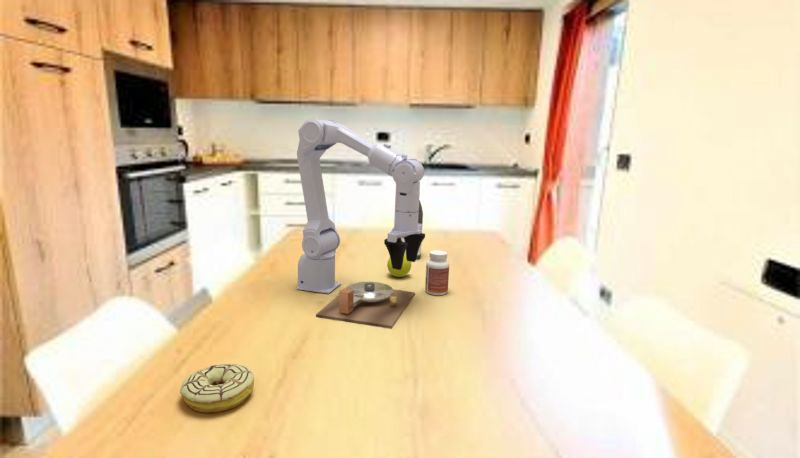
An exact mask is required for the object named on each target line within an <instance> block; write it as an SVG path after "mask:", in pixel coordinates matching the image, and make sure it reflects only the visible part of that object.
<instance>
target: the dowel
mask: <svg viewBox="0 0 800 458" xmlns="http://www.w3.org/2000/svg"><path fill="white" fill-rule="evenodd" d="M396 303H397V296H395V295H391V296H390V307H391V308H396Z"/></svg>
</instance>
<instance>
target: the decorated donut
mask: <svg viewBox="0 0 800 458" xmlns="http://www.w3.org/2000/svg"><path fill="white" fill-rule="evenodd" d="M254 376H255V375H254V373H253V371H252V370H251V369H250V368H249V367H248V366H246V365H241V364H235V363H230V364H225V363H223V364H221V363H220V364H214V365H213V364H212V365H209V366H208V367H205V368H201V369H199V370H197V371H194V372H193V373H191V374H190V375H189V376H187V377H186V378H184V379H183V380H182V381H183V382H182V383H181V386H180V388H179V394H180V396H181V397H182V400H183V401H184V402H185V404H186V406H188V407H190V408H191V409H192V410H194V411H197V412H199V413H206V414H207V413H208V414H209V413H211V414H213V413H220V412H225V411H229V410H232V409H234V408H236V407H237V406H239V405H242V403H243V402H244V401H246V399H247V398H248V397H249V396H251V394H252V391H253V390H254V386H255V377H254Z"/></svg>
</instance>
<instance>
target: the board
mask: <svg viewBox="0 0 800 458" xmlns="http://www.w3.org/2000/svg"><path fill="white" fill-rule="evenodd" d="M393 295H395V296H397V303H396V308H391V307H390V299H387V300H385V301H380V302H361V303H359V304H358V305H356V306H355V307H353V311H352V312H350V313H349V314H345V313H341V312H339V294H338V295H336V297H334V298H332V299H331V301H329V302H328V304H326V305H325V306H324V307H322V309H320V310H319V311H318V312H317V313H316V314H315V318H321V319H327V320H334V321H340V322H341V321H342V322H349V323H354V324H358V325H366V326H373V327H380V328H385V329H386V328H387V329H392V328H393V327H394V326H395V324H396V323H397V322H398V320H399V319H400V317H401V316H402V314H403V313H404V311H405V310H406V308H407V307H408V305H409V304H410V302H411V301H412V299H413V298H414V296H415V295H416V292H415V291H408V290H401V289H393Z"/></svg>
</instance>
